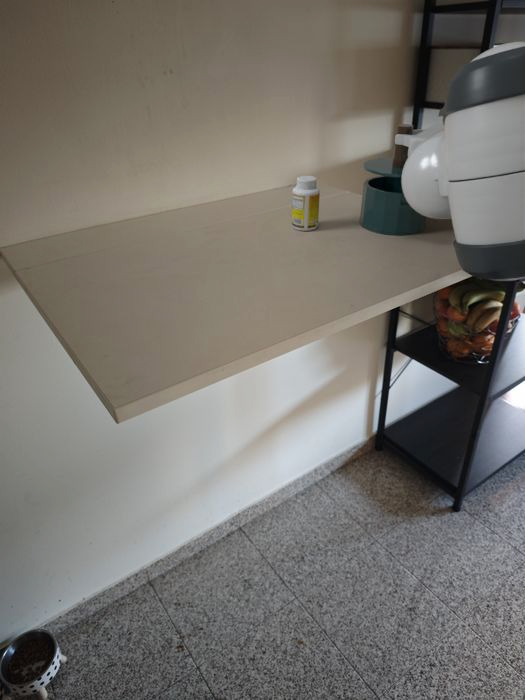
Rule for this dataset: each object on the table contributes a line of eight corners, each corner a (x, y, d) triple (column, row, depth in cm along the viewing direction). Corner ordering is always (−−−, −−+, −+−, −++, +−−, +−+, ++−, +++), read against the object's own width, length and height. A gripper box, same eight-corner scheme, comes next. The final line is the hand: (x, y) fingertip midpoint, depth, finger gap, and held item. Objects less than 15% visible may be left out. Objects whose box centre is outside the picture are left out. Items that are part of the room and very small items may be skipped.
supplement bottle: (318, 223, 108) (320, 174, 102) (317, 232, 103) (320, 182, 98) (292, 222, 109) (293, 174, 103) (290, 231, 104) (292, 181, 98)
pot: (426, 217, 111) (433, 178, 106) (422, 238, 100) (430, 196, 96) (364, 211, 115) (369, 173, 110) (355, 231, 104) (359, 190, 99)
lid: (437, 165, 105) (445, 120, 100) (435, 183, 93) (444, 134, 89) (368, 160, 109) (372, 117, 104) (357, 177, 97) (362, 130, 93)
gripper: (455, 173, 86) (379, 164, 92) (479, 151, 101) (412, 144, 107) (463, 134, 83) (383, 127, 89) (487, 117, 97) (417, 112, 103)
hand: (399, 136), depth 98 cm, fingers closed on lid, 3 cm apart
